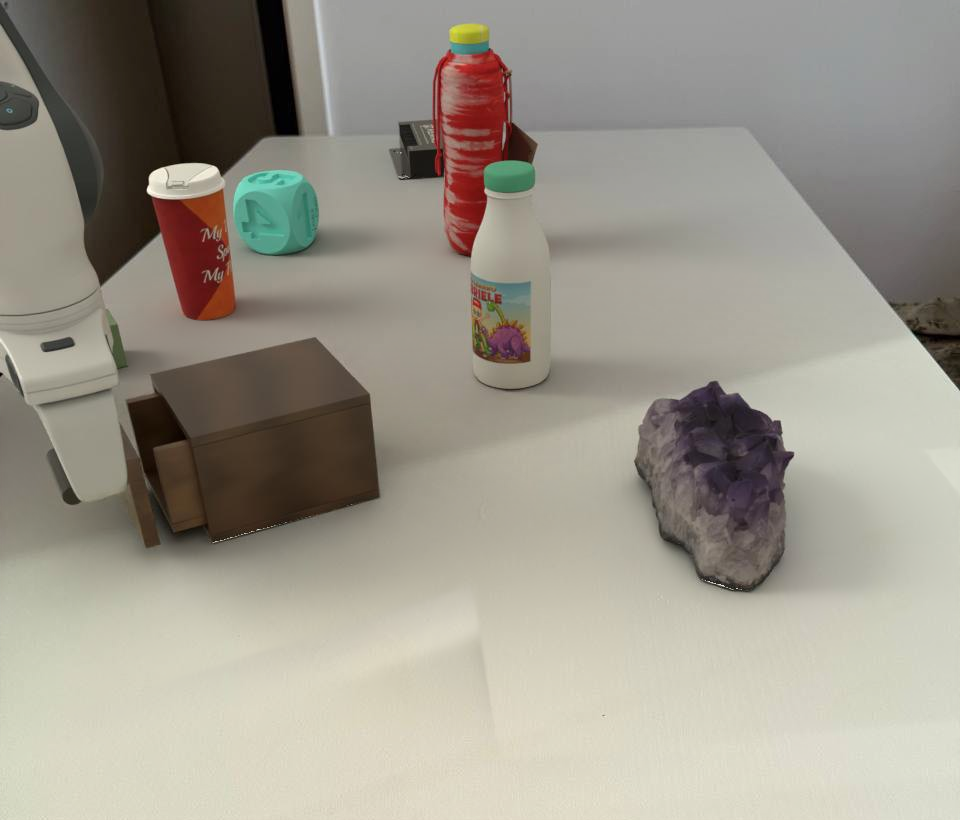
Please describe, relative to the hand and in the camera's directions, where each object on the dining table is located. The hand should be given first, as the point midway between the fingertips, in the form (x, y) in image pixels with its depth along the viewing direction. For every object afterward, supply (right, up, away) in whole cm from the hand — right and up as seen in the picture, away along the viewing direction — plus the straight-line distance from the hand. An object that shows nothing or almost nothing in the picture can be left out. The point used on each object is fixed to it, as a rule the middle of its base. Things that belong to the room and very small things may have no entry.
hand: (92, 494), depth 91 cm
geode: (+50, -2, +1) cm, 50 cm away
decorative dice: (+6, +39, +54) cm, 67 cm away
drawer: (+6, 0, +4) cm, 7 cm away
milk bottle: (+34, +15, +23) cm, 44 cm away
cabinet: (+13, +2, +7) cm, 15 cm away
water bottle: (+32, +37, +51) cm, 71 cm away
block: (-9, +17, +28) cm, 34 cm away
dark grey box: (+25, +59, +79) cm, 102 cm away
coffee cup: (0, +26, +38) cm, 46 cm away
